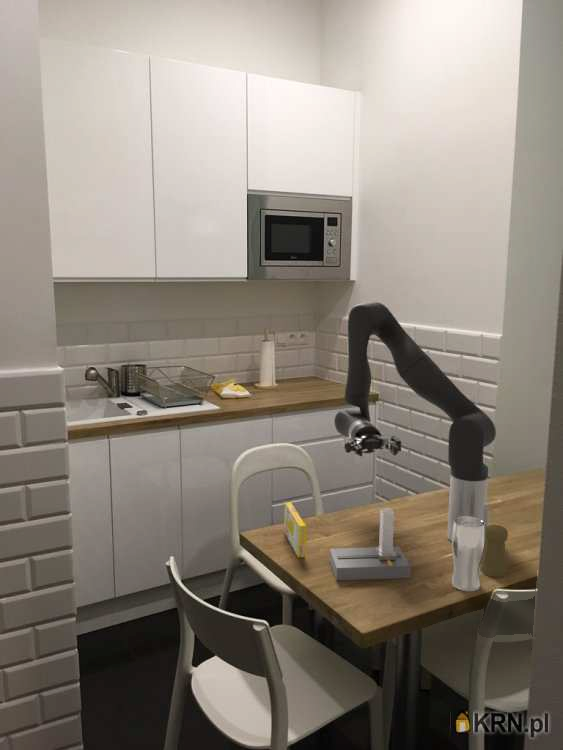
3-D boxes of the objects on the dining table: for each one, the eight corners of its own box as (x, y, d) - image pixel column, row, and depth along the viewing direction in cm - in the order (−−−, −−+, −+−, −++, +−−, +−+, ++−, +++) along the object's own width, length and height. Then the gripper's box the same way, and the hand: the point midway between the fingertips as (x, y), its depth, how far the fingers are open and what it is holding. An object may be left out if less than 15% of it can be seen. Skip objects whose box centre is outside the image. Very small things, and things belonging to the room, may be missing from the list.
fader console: (398, 558, 156) (399, 545, 155) (410, 577, 146) (410, 564, 145) (329, 560, 154) (329, 547, 154) (336, 580, 144) (336, 567, 144)
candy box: (306, 557, 156) (306, 525, 154) (297, 558, 155) (298, 526, 154) (291, 531, 171) (291, 501, 170) (283, 531, 171) (283, 502, 170)
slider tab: (391, 550, 152) (392, 506, 150) (396, 559, 147) (398, 514, 146) (374, 550, 152) (376, 506, 150) (379, 560, 147) (381, 515, 145)
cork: (508, 578, 146) (512, 533, 144) (481, 575, 147) (484, 530, 145) (505, 566, 152) (508, 522, 150) (478, 564, 153) (481, 520, 151)
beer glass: (476, 595, 138) (481, 530, 135) (445, 587, 142) (448, 523, 139) (485, 582, 144) (489, 519, 141) (454, 574, 147) (458, 513, 145)
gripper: (338, 422, 172) (349, 437, 156) (390, 421, 173) (407, 436, 157) (338, 449, 173) (349, 467, 157) (390, 448, 174) (406, 465, 158)
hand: (378, 451), depth 157 cm, fingers open, 8 cm apart
